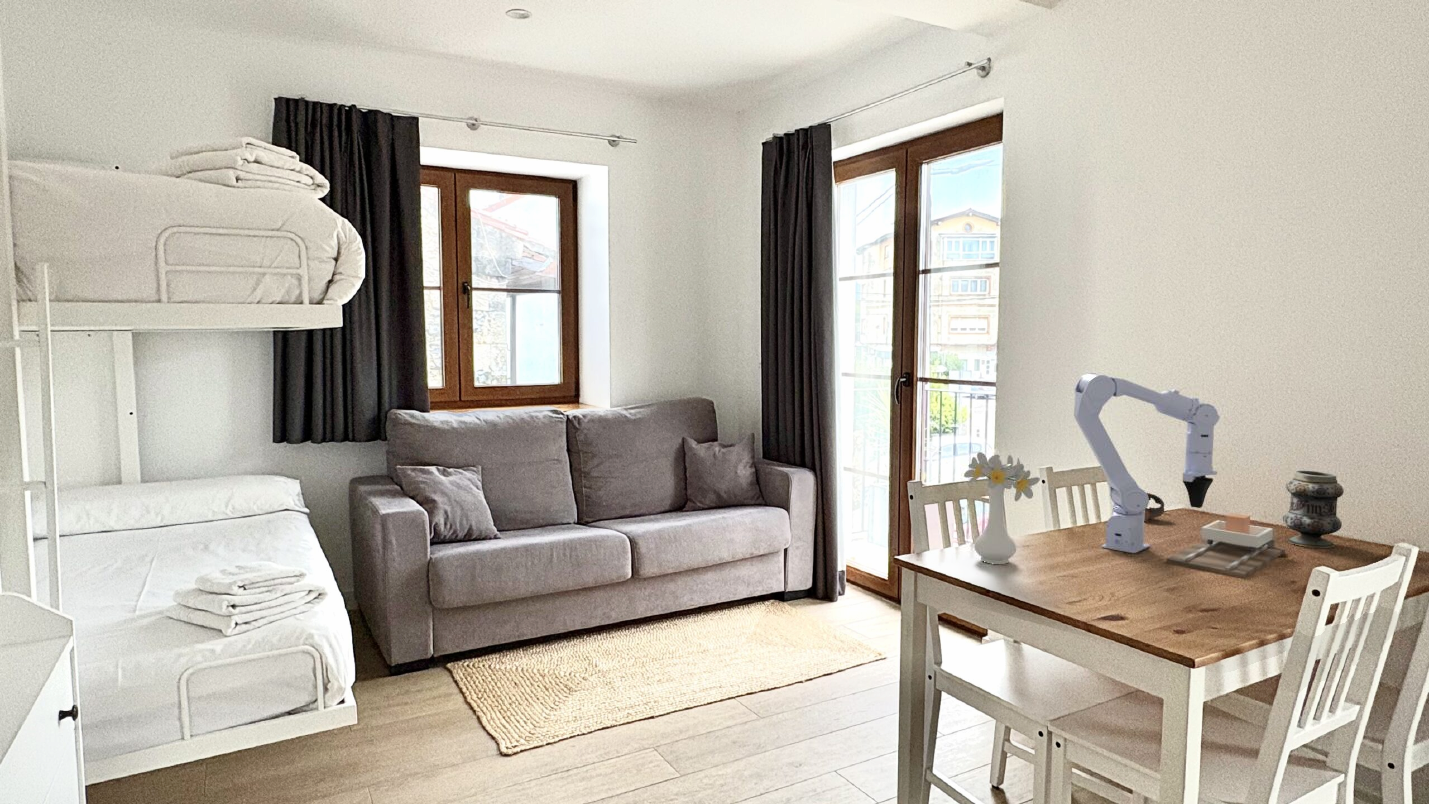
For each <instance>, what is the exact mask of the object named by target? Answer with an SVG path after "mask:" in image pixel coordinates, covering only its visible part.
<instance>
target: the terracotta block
mask: <svg viewBox="0 0 1429 804" xmlns="http://www.w3.org/2000/svg"><path fill="white" fill-rule="evenodd" d="M1225 521H1226V522H1225V531H1231V532H1237V533H1244V534H1249V530H1250V525H1251V515H1246V514H1240V513H1239V514H1238V513H1233V512H1231V513H1228V514H1226V515H1225Z"/></svg>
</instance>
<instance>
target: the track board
mask: <svg viewBox="0 0 1429 804" xmlns="http://www.w3.org/2000/svg"><path fill="white" fill-rule="evenodd" d="M1207 540H1208V539H1203V540H1201V541H1199V542H1197V543H1195V544H1194V545H1191V546H1190V547H1188V548H1185V549H1184V550H1181V551H1179V552H1177V553H1175V554H1173V555H1172V556H1169V557H1167V558H1166V560H1165V563H1166V564H1169V565H1174V566H1179V567H1185V568H1189V569H1194V570H1201V571H1205V572H1211V573H1216V574H1221V575H1226V576H1231V577H1237V578H1240V579H1241V578H1242V579H1246V578H1248V577H1249V576H1250V575H1253V573H1255V572H1257V571H1258V570H1261V568H1263V567H1264V566H1266V565H1268V564H1269V563H1271V562H1272V561H1275V560H1276V559H1277V558H1279V557H1280V556H1282V555H1283V554H1285V552H1286V548H1284V547H1278V546H1276V539H1275V538H1272V540H1270V541H1269V542H1267V543H1266V544H1265V546H1260V547H1258V548H1257V547H1256V550H1255V552H1250V546H1245V545H1239V544H1233V543H1227V542H1221V541H1215V540H1213V544H1212V545H1209V544H1207ZM1281 554H1282V555H1281ZM1278 556H1279V557H1278Z"/></svg>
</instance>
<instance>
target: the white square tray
mask: <svg viewBox="0 0 1429 804" xmlns="http://www.w3.org/2000/svg"><path fill="white" fill-rule="evenodd" d="M1225 522H1226V520H1225V521H1224V520H1218V519H1217V520H1215V521H1213V522H1210V523H1209V524H1206V525H1204V526H1202V527H1201V532H1200V533H1201V535H1200V538H1201V539H1203V540H1205V539H1208V540H1207V544H1209V545H1212V544H1213V540H1215V541H1221V542H1227V543H1233V544H1239V545H1245V546H1250V552H1255V550H1256V547H1257V548H1258V547H1260V546H1265V544H1266V543H1267V542H1269V541H1270V540H1272V539H1273V533H1274V532H1273V531H1274V528H1271V527H1264V526H1258V525H1257V526H1256V525H1253V524H1250V530H1249V534H1244V533H1237V532H1231V531H1225Z"/></svg>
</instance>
